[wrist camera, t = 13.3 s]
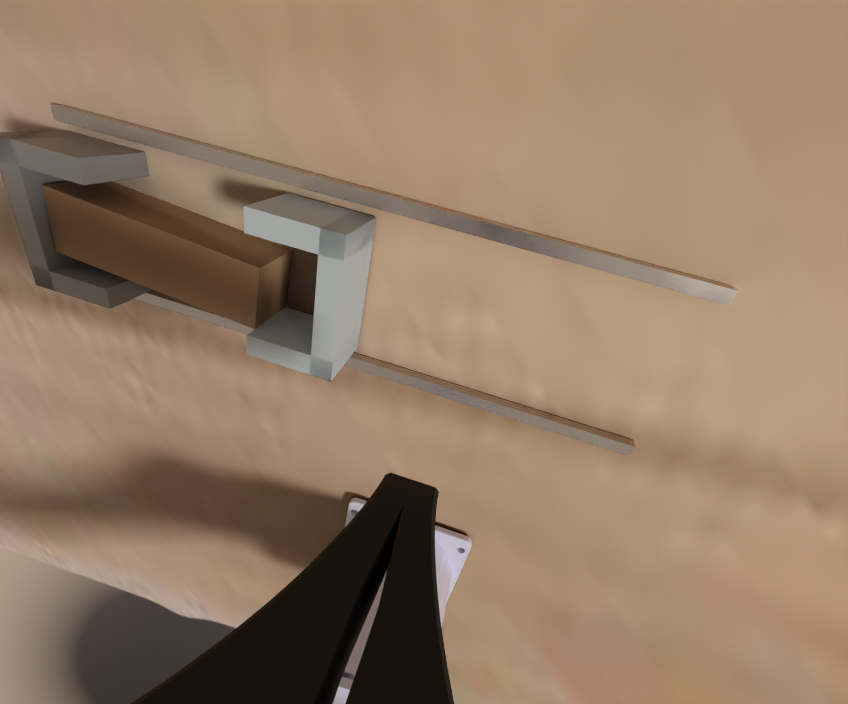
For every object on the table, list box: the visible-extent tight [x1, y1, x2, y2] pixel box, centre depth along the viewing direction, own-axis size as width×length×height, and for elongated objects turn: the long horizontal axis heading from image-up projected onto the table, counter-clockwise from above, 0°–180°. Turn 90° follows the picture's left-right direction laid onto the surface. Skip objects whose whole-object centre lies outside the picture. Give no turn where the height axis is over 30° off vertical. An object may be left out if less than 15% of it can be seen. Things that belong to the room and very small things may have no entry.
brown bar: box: [43, 181, 293, 329], centre depth 19 cm, size 3×10×3 cm, turn 73°
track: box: [51, 104, 738, 456], centre depth 19 cm, size 9×29×1 cm, turn 78°
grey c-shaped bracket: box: [0, 131, 153, 309], centre depth 19 cm, size 6×4×3 cm, turn 168°
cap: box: [243, 193, 376, 381], centre depth 18 cm, size 6×4×3 cm, turn 168°
